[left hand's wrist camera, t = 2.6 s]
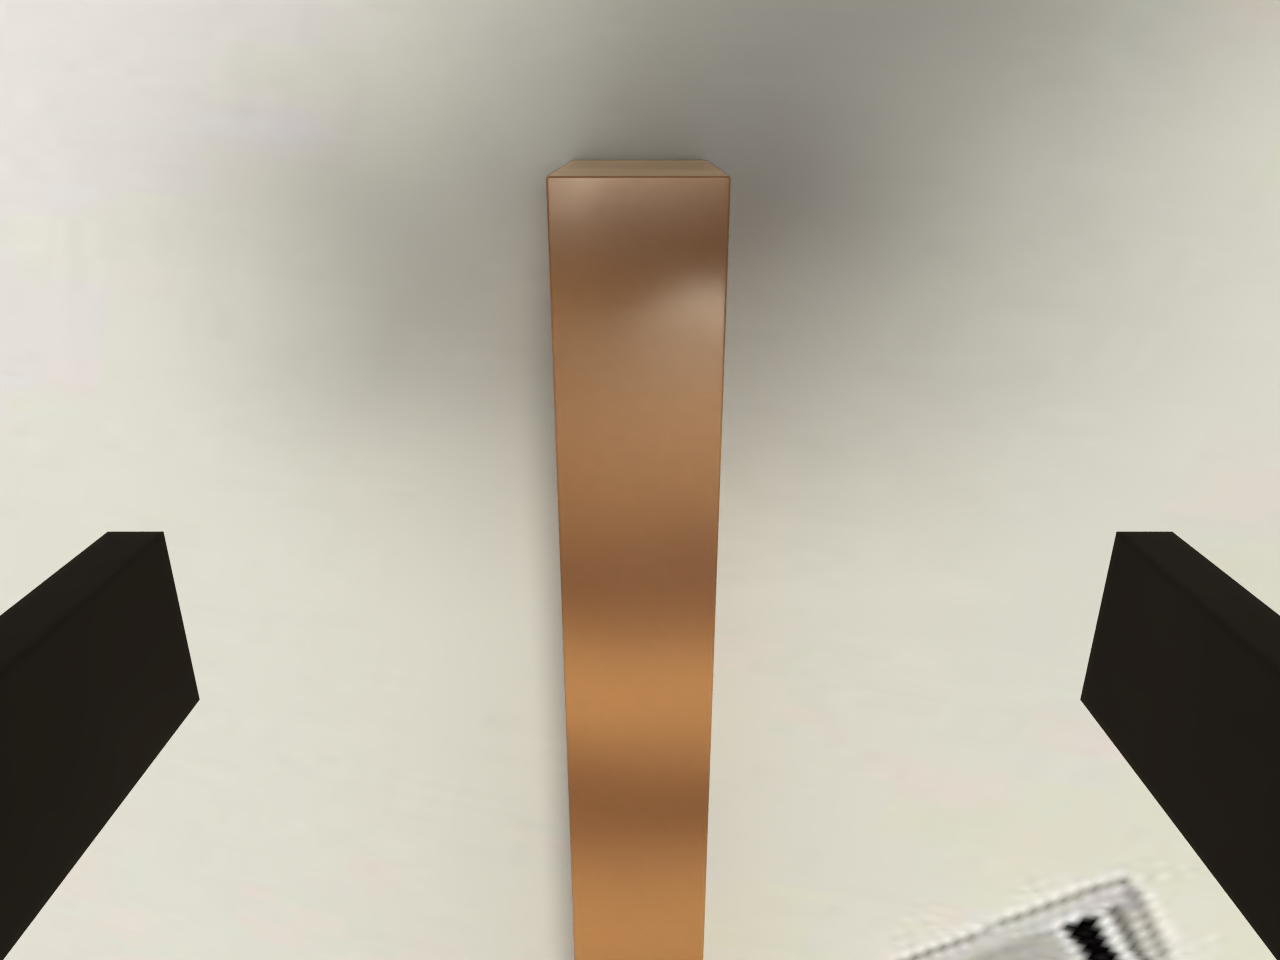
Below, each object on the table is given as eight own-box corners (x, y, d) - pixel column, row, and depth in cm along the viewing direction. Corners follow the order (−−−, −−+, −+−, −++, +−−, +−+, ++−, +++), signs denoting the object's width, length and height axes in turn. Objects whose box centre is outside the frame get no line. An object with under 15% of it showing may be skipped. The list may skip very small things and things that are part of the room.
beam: (571, 160, 30) (545, 176, 22) (706, 159, 30) (730, 176, 22) (600, 1259, 52) (593, 1468, 44) (678, 1259, 52) (685, 1468, 44)
